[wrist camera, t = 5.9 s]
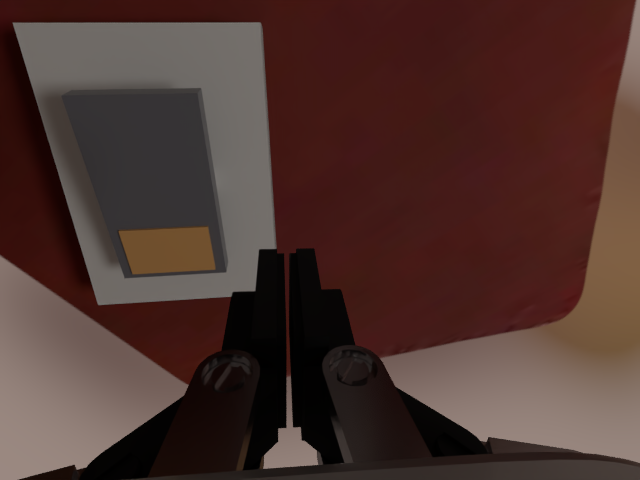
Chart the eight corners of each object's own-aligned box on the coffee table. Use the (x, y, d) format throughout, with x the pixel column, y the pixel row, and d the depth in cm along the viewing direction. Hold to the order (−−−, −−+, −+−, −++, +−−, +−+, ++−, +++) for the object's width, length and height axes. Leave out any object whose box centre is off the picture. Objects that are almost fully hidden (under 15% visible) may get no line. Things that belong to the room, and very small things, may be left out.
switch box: (46, 27, 29) (-3, 20, 24) (262, 27, 30) (259, 20, 25) (115, 281, 38) (90, 315, 33) (277, 272, 39) (278, 302, 34)
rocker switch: (72, 90, 24) (59, 96, 23) (201, 88, 25) (197, 93, 24) (130, 267, 32) (123, 280, 30) (228, 261, 33) (226, 273, 31)
